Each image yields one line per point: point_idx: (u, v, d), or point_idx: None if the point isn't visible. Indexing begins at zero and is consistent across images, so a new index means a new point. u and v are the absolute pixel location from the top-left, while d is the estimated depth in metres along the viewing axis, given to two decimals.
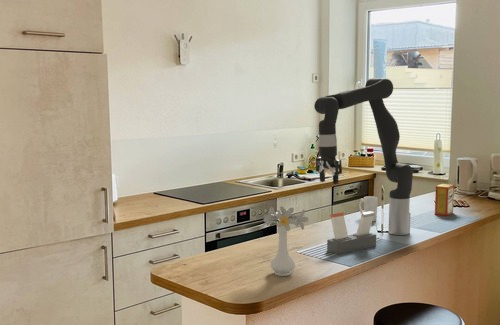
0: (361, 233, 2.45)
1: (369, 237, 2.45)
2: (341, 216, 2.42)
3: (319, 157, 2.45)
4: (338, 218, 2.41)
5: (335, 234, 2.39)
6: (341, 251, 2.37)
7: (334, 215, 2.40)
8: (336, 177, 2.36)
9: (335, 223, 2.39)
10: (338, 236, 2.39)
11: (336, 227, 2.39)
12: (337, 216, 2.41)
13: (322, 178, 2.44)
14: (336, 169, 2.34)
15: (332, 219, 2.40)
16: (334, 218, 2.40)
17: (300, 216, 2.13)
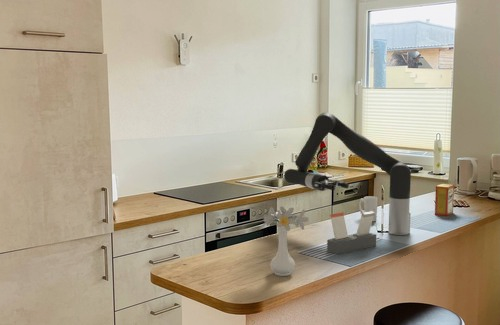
0: (361, 233, 2.45)
1: (369, 237, 2.45)
2: (341, 216, 2.42)
3: None
4: (338, 218, 2.41)
5: (335, 234, 2.39)
6: (341, 251, 2.37)
7: (334, 215, 2.40)
8: (328, 187, 2.55)
9: (335, 223, 2.39)
10: (338, 236, 2.39)
11: (336, 227, 2.39)
12: (337, 216, 2.41)
13: (345, 186, 2.59)
14: (320, 188, 2.57)
15: (332, 219, 2.40)
16: (334, 218, 2.40)
17: (300, 216, 2.13)
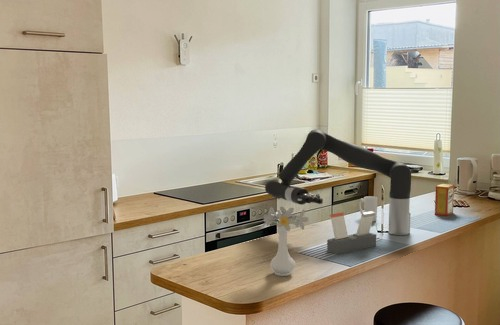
0: (361, 233, 2.45)
1: (369, 237, 2.45)
2: (341, 216, 2.42)
3: None
4: (338, 218, 2.41)
5: (335, 234, 2.39)
6: (341, 251, 2.37)
7: (334, 215, 2.40)
8: (314, 201, 2.51)
9: (335, 223, 2.39)
10: (338, 236, 2.39)
11: (336, 227, 2.39)
12: (337, 216, 2.41)
13: None
14: (306, 202, 2.53)
15: (332, 219, 2.40)
16: (334, 218, 2.40)
17: (300, 216, 2.13)
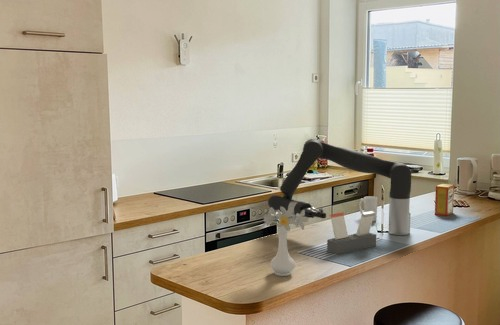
0: (361, 233, 2.45)
1: (369, 237, 2.45)
2: (341, 216, 2.42)
3: None
4: (338, 218, 2.41)
5: (335, 234, 2.39)
6: (341, 251, 2.37)
7: (334, 215, 2.40)
8: (318, 215, 2.50)
9: (335, 223, 2.39)
10: (338, 236, 2.39)
11: (336, 227, 2.39)
12: (337, 216, 2.41)
13: None
14: (309, 217, 2.52)
15: (332, 219, 2.40)
16: (334, 218, 2.40)
17: (300, 216, 2.13)
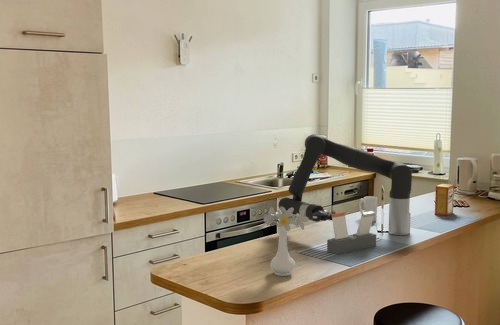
0: (361, 233, 2.45)
1: (369, 237, 2.45)
2: (342, 216, 2.41)
3: None
4: (339, 218, 2.40)
5: (335, 234, 2.39)
6: (341, 251, 2.37)
7: (335, 215, 2.39)
8: (330, 218, 2.43)
9: (336, 223, 2.39)
10: (338, 236, 2.39)
11: (337, 227, 2.39)
12: (338, 216, 2.40)
13: None
14: None
15: (333, 219, 2.39)
16: (335, 218, 2.39)
17: (300, 216, 2.13)
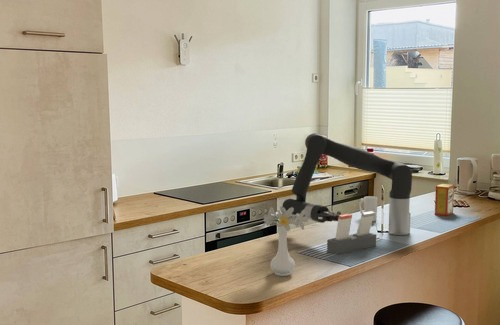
0: (361, 233, 2.45)
1: (369, 237, 2.45)
2: (349, 218, 2.38)
3: None
4: (345, 220, 2.37)
5: (337, 234, 2.38)
6: (341, 251, 2.37)
7: (342, 217, 2.36)
8: (336, 219, 2.40)
9: (341, 225, 2.37)
10: (339, 237, 2.38)
11: (340, 229, 2.37)
12: (345, 218, 2.37)
13: None
14: (327, 220, 2.42)
15: (339, 220, 2.36)
16: (341, 220, 2.36)
17: (300, 216, 2.13)
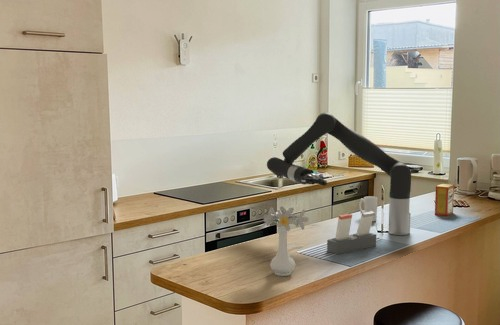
0: (361, 233, 2.45)
1: (369, 237, 2.45)
2: (349, 218, 2.38)
3: None
4: (345, 220, 2.37)
5: (337, 234, 2.38)
6: (341, 251, 2.37)
7: (342, 217, 2.36)
8: (318, 182, 2.50)
9: (341, 225, 2.37)
10: (339, 237, 2.38)
11: (340, 229, 2.37)
12: (345, 218, 2.37)
13: None
14: None
15: (339, 220, 2.36)
16: (341, 220, 2.36)
17: (300, 216, 2.13)
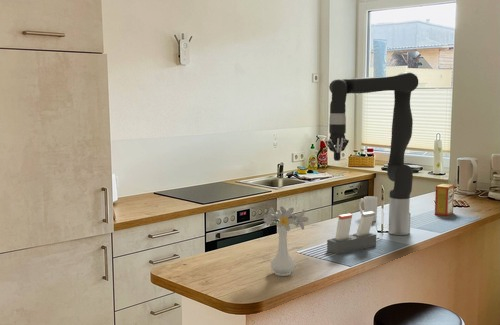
0: (361, 233, 2.45)
1: (369, 237, 2.45)
2: (349, 218, 2.38)
3: (346, 139, 2.66)
4: (345, 220, 2.37)
5: (337, 234, 2.38)
6: (341, 251, 2.37)
7: (342, 217, 2.36)
8: (334, 154, 2.63)
9: (341, 225, 2.37)
10: (339, 237, 2.38)
11: (340, 229, 2.37)
12: (345, 218, 2.37)
13: None
14: None
15: (339, 220, 2.36)
16: (341, 220, 2.36)
17: (300, 216, 2.13)
